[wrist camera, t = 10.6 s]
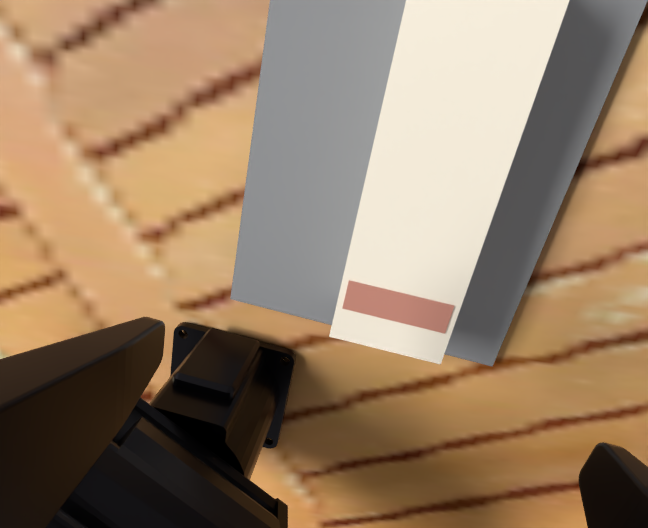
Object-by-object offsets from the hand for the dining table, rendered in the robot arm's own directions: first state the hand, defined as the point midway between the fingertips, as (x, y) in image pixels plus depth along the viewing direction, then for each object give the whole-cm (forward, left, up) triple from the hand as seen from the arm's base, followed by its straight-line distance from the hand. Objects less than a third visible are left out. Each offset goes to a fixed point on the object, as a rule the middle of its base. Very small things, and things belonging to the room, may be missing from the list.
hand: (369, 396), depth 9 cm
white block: (+3, -1, -11) cm, 12 cm away
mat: (+3, 0, -12) cm, 12 cm away
